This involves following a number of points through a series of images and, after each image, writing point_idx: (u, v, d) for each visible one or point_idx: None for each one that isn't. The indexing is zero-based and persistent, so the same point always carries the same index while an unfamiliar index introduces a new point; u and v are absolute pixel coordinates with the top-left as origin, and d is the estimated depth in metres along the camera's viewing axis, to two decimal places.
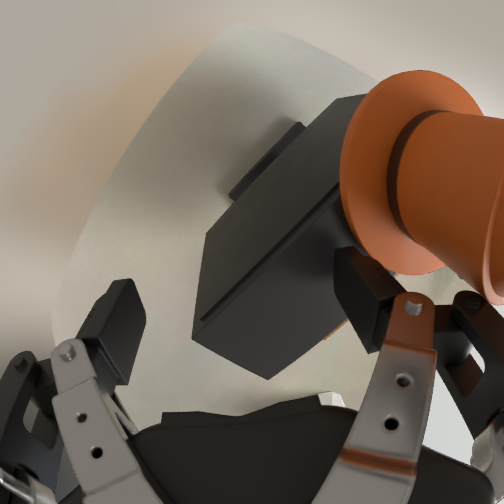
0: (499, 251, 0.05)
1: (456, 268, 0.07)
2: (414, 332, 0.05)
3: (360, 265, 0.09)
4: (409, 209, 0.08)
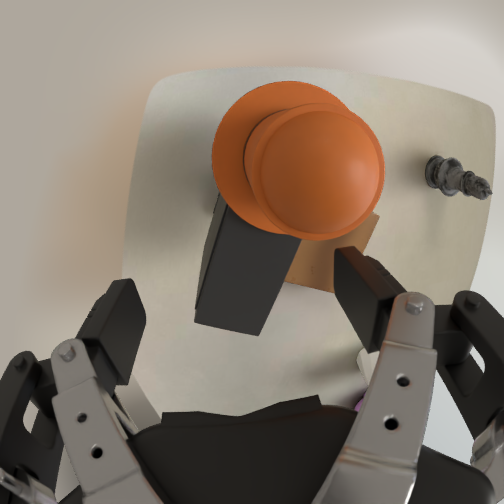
0: (280, 215, 0.11)
1: None
2: (414, 332, 0.05)
3: (360, 265, 0.09)
4: None
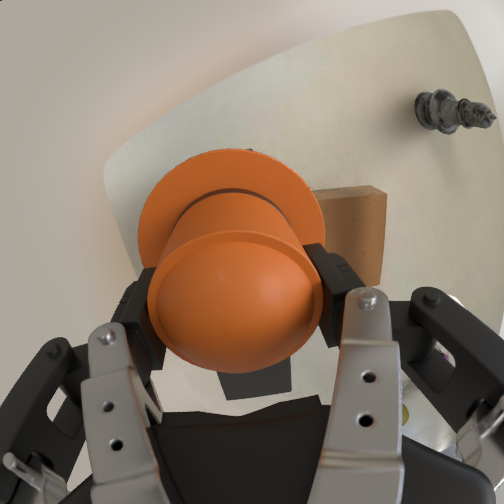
0: None
1: None
2: (360, 326, 0.06)
3: (321, 261, 0.09)
4: None
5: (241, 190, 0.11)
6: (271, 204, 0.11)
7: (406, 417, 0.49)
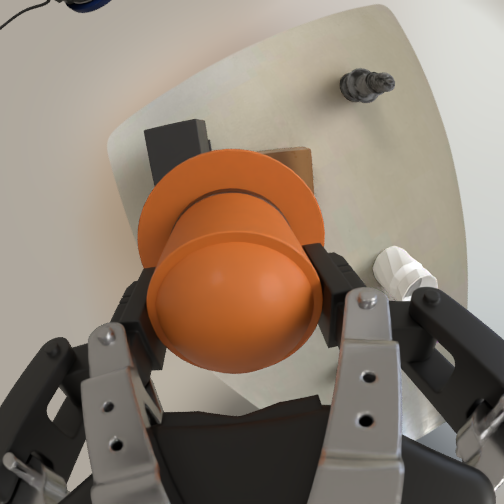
0: None
1: None
2: (360, 326, 0.06)
3: (321, 261, 0.09)
4: None
5: (240, 190, 0.11)
6: (270, 204, 0.11)
7: None
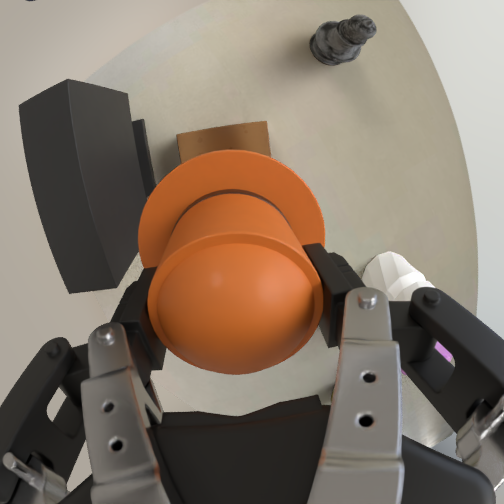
0: None
1: None
2: (360, 326, 0.06)
3: (321, 261, 0.09)
4: None
5: (241, 191, 0.11)
6: (271, 205, 0.11)
7: None
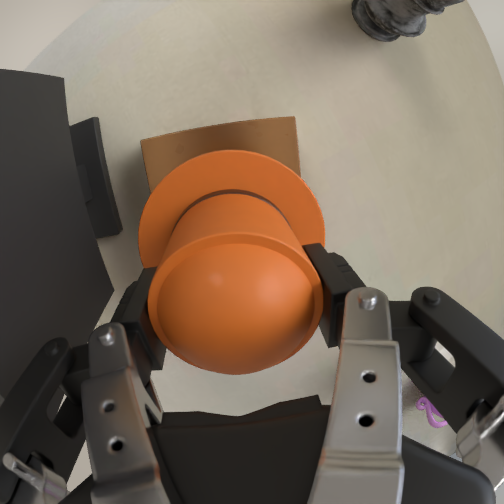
0: None
1: None
2: (360, 326, 0.06)
3: (321, 261, 0.09)
4: None
5: (241, 191, 0.11)
6: (271, 205, 0.11)
7: None
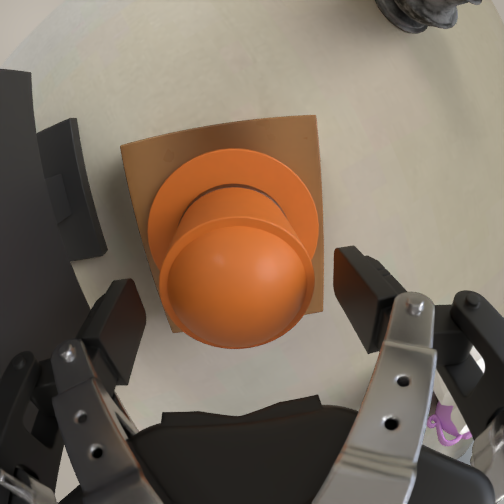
0: None
1: None
2: (414, 332, 0.05)
3: (360, 265, 0.09)
4: None
5: (242, 185, 0.13)
6: (269, 198, 0.13)
7: None
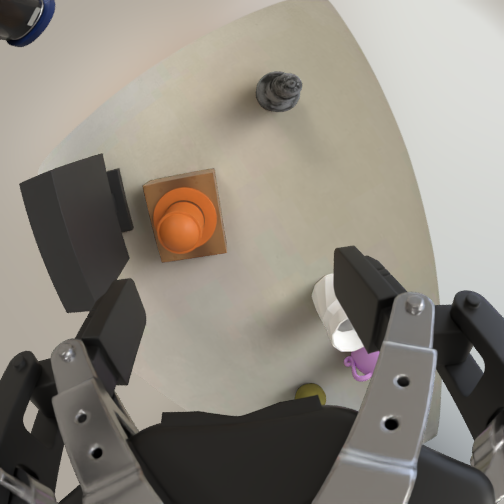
0: (173, 250, 0.34)
1: None
2: (414, 332, 0.05)
3: (360, 265, 0.09)
4: None
5: (185, 201, 0.36)
6: (194, 205, 0.36)
7: (320, 401, 0.57)
